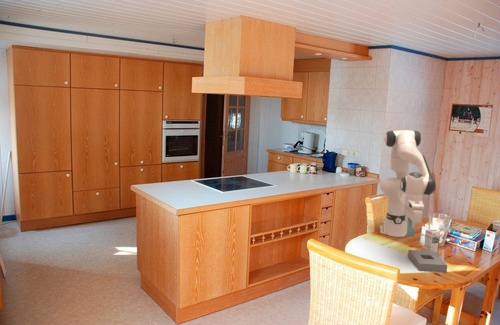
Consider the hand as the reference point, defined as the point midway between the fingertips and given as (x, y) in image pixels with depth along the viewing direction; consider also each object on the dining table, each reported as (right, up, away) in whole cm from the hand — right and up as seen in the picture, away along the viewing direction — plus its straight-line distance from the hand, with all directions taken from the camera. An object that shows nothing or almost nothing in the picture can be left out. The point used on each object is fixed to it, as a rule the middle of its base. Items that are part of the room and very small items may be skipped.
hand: (411, 226), depth 219 cm
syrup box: (+17, -19, +14) cm, 29 cm away
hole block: (+8, -21, -1) cm, 22 cm away
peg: (0, -5, +1) cm, 5 cm away
